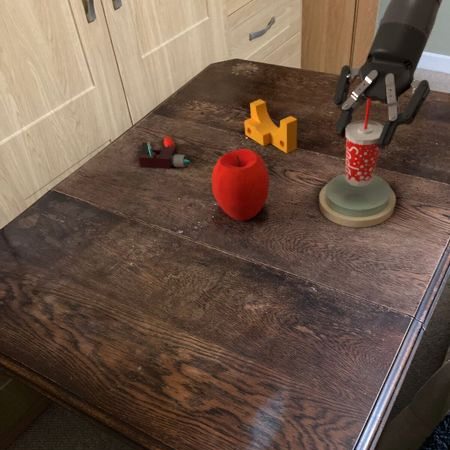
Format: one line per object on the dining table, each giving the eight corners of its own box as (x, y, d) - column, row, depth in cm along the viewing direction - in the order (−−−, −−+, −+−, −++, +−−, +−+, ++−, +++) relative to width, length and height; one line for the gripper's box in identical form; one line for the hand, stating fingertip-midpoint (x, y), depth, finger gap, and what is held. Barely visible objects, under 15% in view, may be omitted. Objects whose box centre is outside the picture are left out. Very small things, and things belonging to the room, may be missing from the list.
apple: (236, 191, 93) (231, 132, 84) (281, 206, 89) (280, 145, 80) (205, 220, 88) (195, 161, 79) (251, 238, 84) (246, 177, 75)
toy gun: (189, 171, 99) (185, 149, 96) (133, 169, 102) (128, 147, 98) (200, 145, 106) (197, 124, 102) (148, 144, 108) (143, 123, 105)
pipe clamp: (245, 134, 107) (243, 106, 102) (261, 127, 108) (260, 99, 104) (280, 156, 100) (279, 127, 95) (296, 148, 101) (297, 119, 97)
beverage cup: (336, 170, 85) (343, 92, 75) (370, 165, 86) (383, 86, 75) (345, 191, 81) (355, 111, 71) (382, 186, 81) (396, 105, 71)
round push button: (406, 195, 88) (409, 181, 85) (374, 236, 81) (377, 222, 79) (339, 175, 93) (341, 161, 91) (305, 213, 87) (305, 199, 85)
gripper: (453, 52, 74) (407, 160, 77) (364, 38, 81) (325, 138, 83) (449, 27, 68) (399, 146, 70) (353, 13, 74) (310, 123, 77)
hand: (359, 141), depth 77 cm, fingers closed on beverage cup, 6 cm apart
